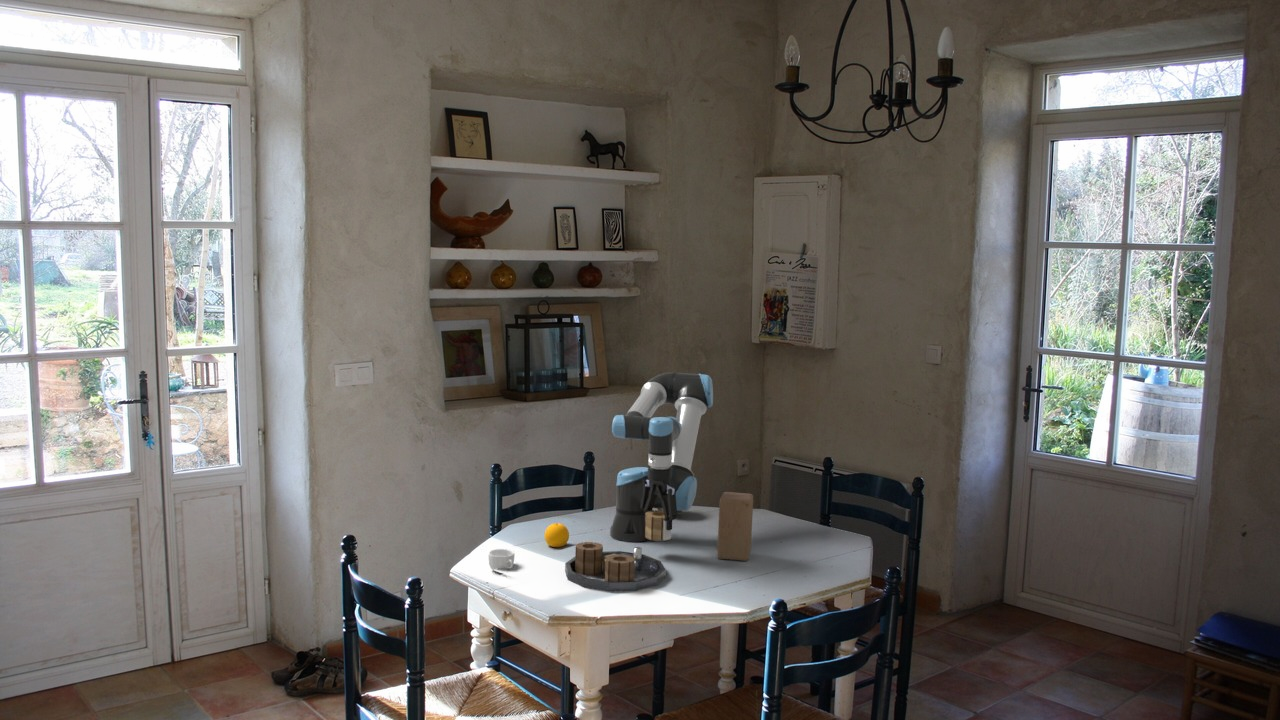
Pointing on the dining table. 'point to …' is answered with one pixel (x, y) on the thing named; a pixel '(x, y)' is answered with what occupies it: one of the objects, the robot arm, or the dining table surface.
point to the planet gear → (654, 525)
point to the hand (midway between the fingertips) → (657, 535)
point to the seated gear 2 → (619, 568)
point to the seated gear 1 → (588, 558)
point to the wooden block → (735, 526)
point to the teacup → (501, 559)
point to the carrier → (644, 577)
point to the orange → (556, 535)
